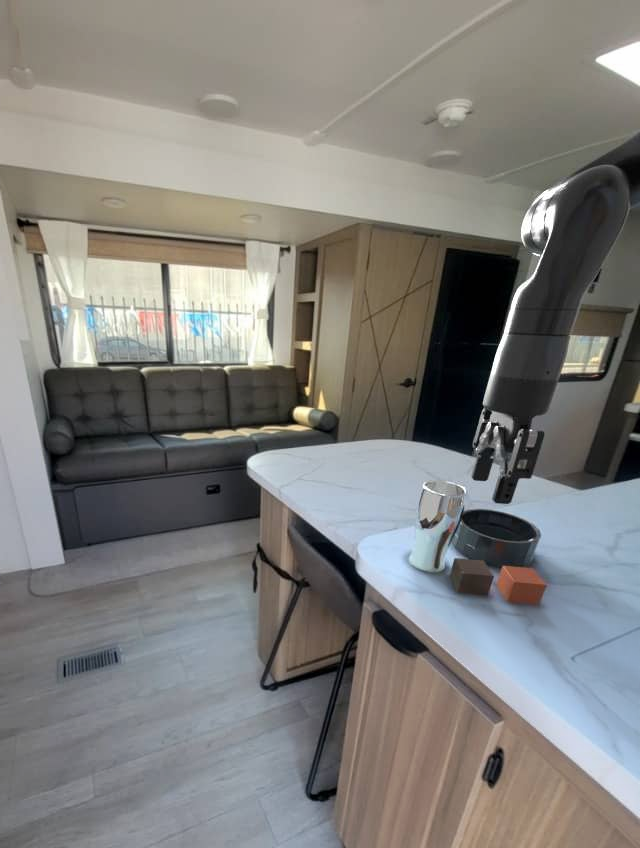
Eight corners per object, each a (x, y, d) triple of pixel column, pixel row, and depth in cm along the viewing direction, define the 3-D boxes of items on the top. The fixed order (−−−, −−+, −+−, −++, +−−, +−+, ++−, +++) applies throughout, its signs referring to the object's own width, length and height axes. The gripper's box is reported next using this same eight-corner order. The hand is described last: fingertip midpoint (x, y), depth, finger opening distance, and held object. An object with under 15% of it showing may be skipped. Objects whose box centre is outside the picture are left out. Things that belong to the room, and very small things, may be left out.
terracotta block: (524, 591, 65) (533, 568, 63) (537, 609, 61) (547, 585, 59) (494, 588, 66) (502, 565, 64) (505, 606, 62) (514, 582, 60)
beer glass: (411, 551, 76) (428, 476, 69) (451, 564, 72) (472, 486, 66) (399, 568, 71) (416, 489, 64) (441, 582, 67) (464, 500, 60)
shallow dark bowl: (511, 538, 81) (520, 511, 78) (543, 576, 69) (556, 546, 67) (442, 532, 83) (449, 506, 80) (463, 568, 71) (471, 539, 68)
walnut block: (476, 583, 67) (483, 560, 65) (486, 600, 63) (494, 576, 61) (448, 580, 68) (454, 557, 66) (456, 597, 64) (463, 573, 62)
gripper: (589, 382, 45) (540, 514, 52) (530, 368, 57) (497, 475, 64) (517, 379, 45) (478, 509, 53) (474, 365, 58) (448, 471, 65)
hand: (489, 490), depth 58 cm, fingers open, 8 cm apart
